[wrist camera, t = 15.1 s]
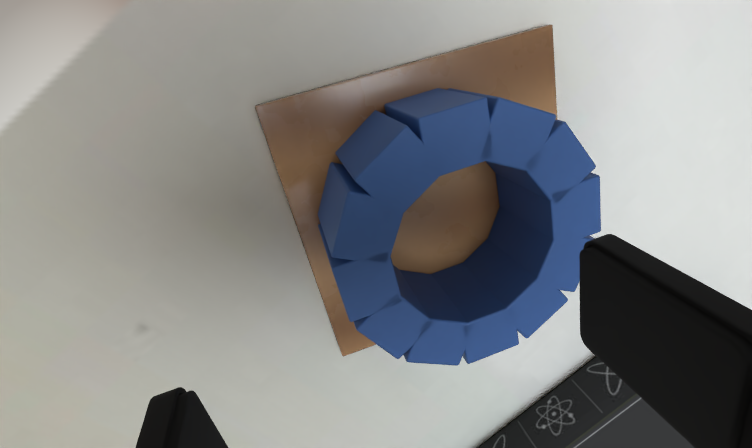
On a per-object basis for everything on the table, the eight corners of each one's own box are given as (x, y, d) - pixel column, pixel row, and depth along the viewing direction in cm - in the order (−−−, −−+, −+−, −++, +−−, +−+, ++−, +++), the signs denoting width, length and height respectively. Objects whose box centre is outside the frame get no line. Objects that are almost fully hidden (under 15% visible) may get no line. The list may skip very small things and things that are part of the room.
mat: (255, 105, 15) (254, 106, 15) (546, 24, 17) (552, 23, 17) (341, 351, 20) (342, 357, 20) (560, 272, 22) (565, 275, 22)
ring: (286, 133, 16) (292, 156, 12) (527, 60, 17) (598, 62, 13) (356, 337, 20) (376, 401, 16) (545, 268, 21) (603, 312, 17)
